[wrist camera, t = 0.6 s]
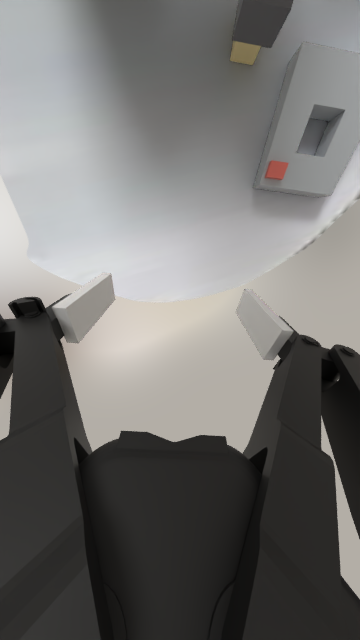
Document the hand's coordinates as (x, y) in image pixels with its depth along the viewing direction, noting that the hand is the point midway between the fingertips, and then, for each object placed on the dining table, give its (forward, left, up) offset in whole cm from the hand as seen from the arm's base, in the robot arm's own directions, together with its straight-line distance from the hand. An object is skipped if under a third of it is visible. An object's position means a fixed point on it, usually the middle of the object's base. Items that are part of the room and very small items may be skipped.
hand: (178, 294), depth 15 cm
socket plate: (-20, +20, -25) cm, 38 cm away
